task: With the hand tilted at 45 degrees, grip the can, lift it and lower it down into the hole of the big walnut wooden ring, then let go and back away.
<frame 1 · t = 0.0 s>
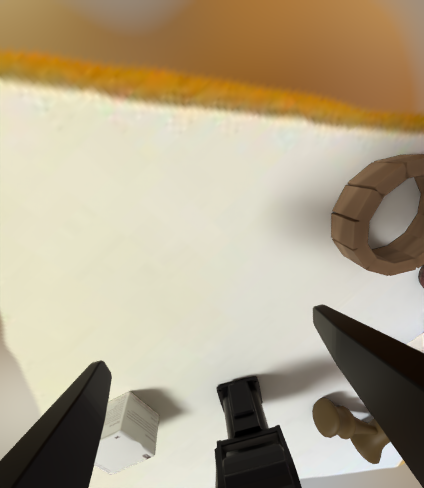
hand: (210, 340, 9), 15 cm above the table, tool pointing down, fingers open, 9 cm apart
walnut ring: (381, 213, 24), on the table
kendama: (352, 409, 40), on the table
small box: (125, 411, 33), on the table
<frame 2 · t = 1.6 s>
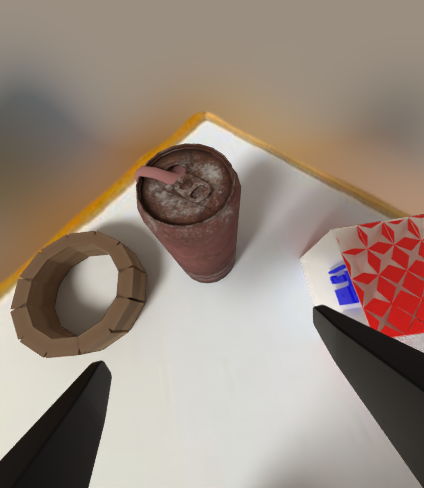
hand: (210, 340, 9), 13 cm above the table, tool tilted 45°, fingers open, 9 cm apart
walnut ring: (94, 292, 24), on the table
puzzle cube: (346, 288, 22), on the table
can: (207, 258, 24), on the table
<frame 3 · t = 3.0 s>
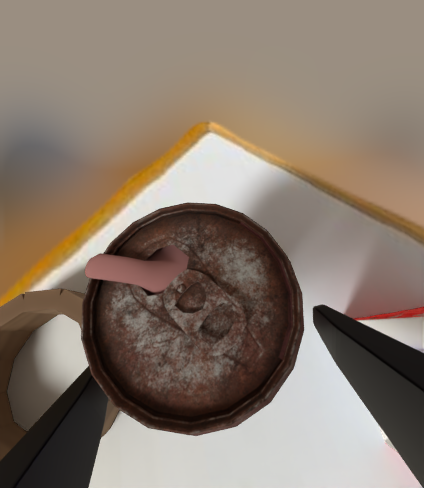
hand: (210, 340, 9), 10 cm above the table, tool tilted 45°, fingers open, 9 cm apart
walnut ring: (62, 369, 17), on the table
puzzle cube: (409, 366, 16), on the table
can: (215, 318, 18), on the table
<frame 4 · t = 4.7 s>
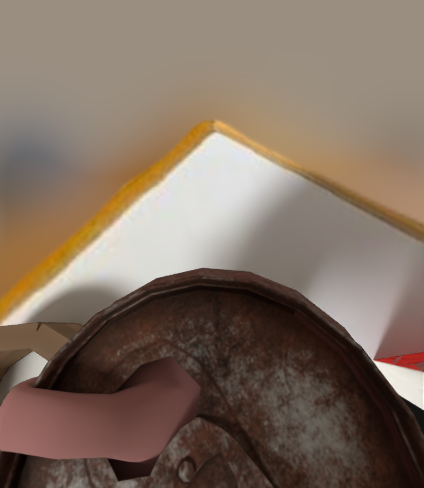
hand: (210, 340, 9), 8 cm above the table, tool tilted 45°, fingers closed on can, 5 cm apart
walnut ring: (42, 415, 15), on the table
can: (223, 353, 15), on the table, touching gripper
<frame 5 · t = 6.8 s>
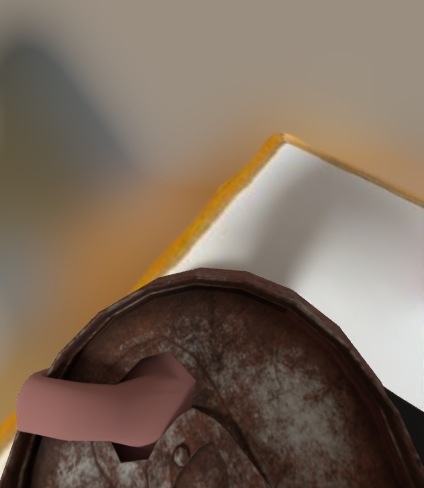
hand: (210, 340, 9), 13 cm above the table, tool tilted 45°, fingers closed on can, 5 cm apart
can: (232, 349, 16), point 5 cm above the table, touching gripper
when the fingers open (8 cm above the table, at t = 9.0 s): can stays where it is, resting in walnut ring.
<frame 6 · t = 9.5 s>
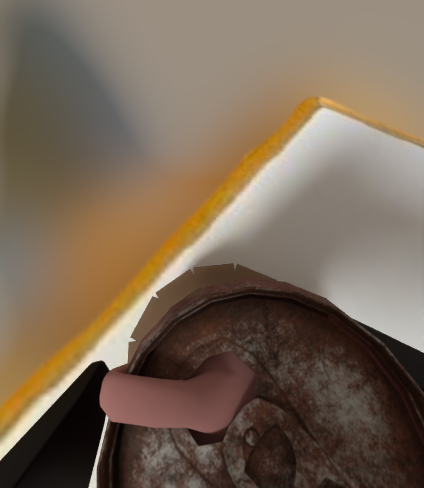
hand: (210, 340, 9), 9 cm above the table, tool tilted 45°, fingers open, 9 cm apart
walnut ring: (223, 352, 16), on the table
can: (234, 352, 16), resting in walnut ring
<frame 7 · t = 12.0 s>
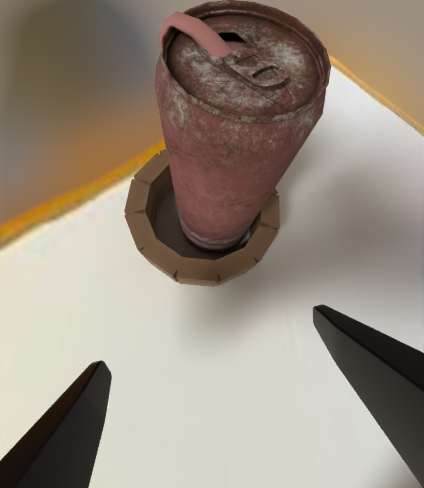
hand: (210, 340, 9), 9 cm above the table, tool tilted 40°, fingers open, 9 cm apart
walnut ring: (203, 221, 20), on the table
can: (211, 224, 20), resting in walnut ring
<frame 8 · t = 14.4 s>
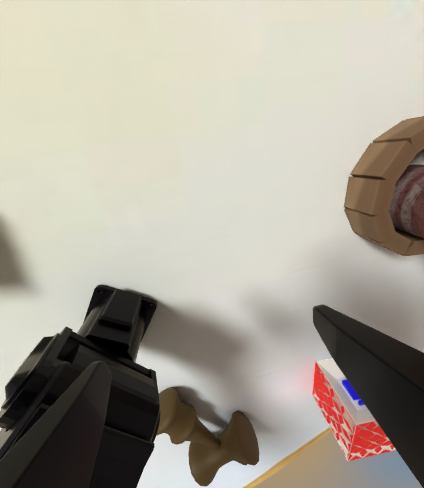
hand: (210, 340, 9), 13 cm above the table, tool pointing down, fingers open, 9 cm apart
walnut ring: (402, 186, 21), on the table
kendama: (205, 415, 33), on the table
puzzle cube: (337, 371, 32), on the table
can: (397, 194, 22), resting in walnut ring
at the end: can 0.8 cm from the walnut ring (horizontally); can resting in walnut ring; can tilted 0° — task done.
